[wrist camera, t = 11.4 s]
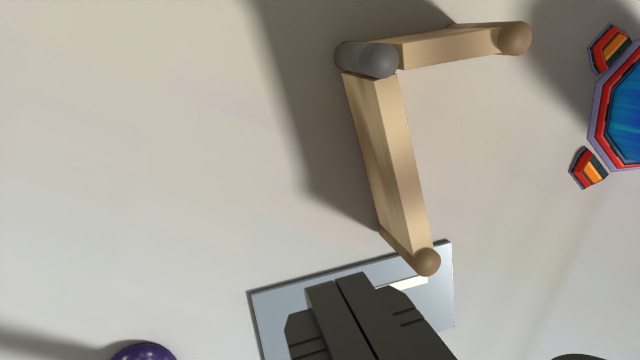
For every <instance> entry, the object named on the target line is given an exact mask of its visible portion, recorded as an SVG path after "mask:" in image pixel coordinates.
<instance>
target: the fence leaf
mask: <svg viewBox="0 0 640 360" xmlns="http://www.w3.org/2000/svg"><path fill="white" fill-rule="evenodd" d="M334 61H335V63H336V65H337V66H338V67H339V68H340V69H342V70H344V71H347V72H344V73H341V74H342V78H343V82H344V86H345V90H346V94H347V98H348V102H349V106H350V110H351V113H352V117H353V121H354V125H355V129H356V133H357V137H358V141H359V145H360V149H361V153H362V157H363V160H364V164H365V168H366V172H367V176H368V180H369V184H370V188H371V192H372V196H373V200H374V203H375V207H376V211H377V215H378V219H379V223H380V224H379V227H378V231H379V234H380V235H381V236H382V237H383V238H384V240H385V241H386V242H387V243H388V244H389V245H390V246H391V247H392V248H393V249H394V250H395V251H396V252H397V253H398V254H399V255H400V256H401V257H402V258H403V259H404V260H405V261H406V263H407V264H408V265H409V266H410V267H411V268H412V269H413V270H414V271H415V272H416V273H417V274H418V275H419V276H422V277H428V276H431V275H433V274H434V273H436V272H437V271H438V269H439V267H440V265H441V257H440V255H439V254H438V253H437V252H436V251H435V250H434V247H433V242H432V237H431V233H430V228H429V223H428V218H427V214H426V209H425V204H424V200H423V195H422V190H421V185H420V181H419V176H418V171H417V167H416V162H415V157H414V152H413V148H412V143H411V138H410V134H409V129H408V124H407V119H406V115H405V110H404V105H403V100H402V96H401V91H400V86H399V82H398V77H397V74H396V73H395V72H396V70H397V68H398V65H399V54H398V52H397V50H396V48H395V47H394V46H392V45H391V44H388V43H376V42H351V41H346V42H343V43H341V44H339V45H338V46H337V48H336V50H335V52H334Z"/></svg>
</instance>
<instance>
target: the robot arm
mask: <svg viewBox="0 0 640 360" xmlns="http://www.w3.org/2000/svg"><path fill="white" fill-rule="evenodd" d="M304 294H305V299H306V303H307V308H308V309H306V310H302V311H299V312H295V313H292V314H289V315H288V318H287V321H286V325H285V328H284V334H285V338H286V342H287V346H288V351H289V355H290V359H291V360H457V359H456V357H455V356H454V355H453V353H452V352H451V351H450V350H449V348H448V347H447V346H446V344H445V343H444V342H443V341H442V339H441V338H440V337H439V336H438V334H437V333H436V332H435V330H434V329H433V328H432V327H431V325H430V324H429V323H428V322H427V320H425V319H424V316H423V315H422V314H421V313H420V311H419V310H418V309H416V306H415V305H414V304H413V302H412V301H411V300H410V299H409V297H408V296H407V295H406V294H405V293H403V292H402V291H400V290H398V289H396V288H394V287H392V286H390V285H387V286H383V287H380V288H377V289H375V288H374V286H373V285H372V283H371V282H370V280H369V279H368V277H367V276H366V274H365V273H364V272H363V271H361V272H358V273H354V274H351V275H347V276H344V277H340V278H337V279H334V281H333V280H330V281H327V282H323V283H320V284H316V285H313V286H309V287H306V288H304ZM552 360H605V359H602V358H598V357H595V356H590V355H584V354H565V355H561V356H558V357H555V358H553V359H552Z"/></svg>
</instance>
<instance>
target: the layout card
mask: <svg viewBox="0 0 640 360" xmlns="http://www.w3.org/2000/svg"><path fill="white" fill-rule="evenodd" d="M433 247H434V250H435V251H436V252H437V253H438V254H439V255H440V257H441V265H440V267H439V269H438V271H437V272H436V273H434V274H433V275H431V276H428V277H422V276H419V275H418V274H417V273H416V272H415V271H414V270H413V269H412V268H411V267H410V266H409V265H408V264H407V263H406V261H405V260H404V259H403V258H402V257H401V256H400V255H399V254H397V255H393V256H390V257H386V258H382V259H378V260H375V261H371V262H367V263H363V264H359V265H356V266H352V267H348V268H344V269H341V270H337V271H333V272H329V273H326V274H322V275H318V276H314V277H310V278H307V279H303V280H299V281H295V282H292V283H288V284H284V285H280V286H276V287H273V288H269V289H265V290H261V291H258V292H254V293H251V297H252V302H253V307H254V311H255V316H256V321H257V325H258V330H259V334H260V339H261V344H262V348H263V353H264V357H265V360H291V359H290V355H289V351H288V346H287V342H286V338H285V334H284V328H285V325H286V321H287V318H288V315H289V314H292V313H295V312H299V311H302V310H306V309H308V308H307V303H306V299H305V294H304V288H306V287H309V286H313V285H316V284H320V283H323V282H327V281H330V280H333V281H334V279H337V278H340V277H344V276H347V275H351V274H354V273H358V272H361V271H363V272H364V273H365V274H366V276H367V277H368V279H369V280H370V282H371V283H372V285H373V286H374V288H375V289H377V288H380V287H383V286H387V285H390V286H392V287H394V288H396V289H398V290H400V291H402V292H403V293H405V294H406V295H407V296H408V297H409V299H410V300H411V301H412V302H413V304H414V305H415V306H416V309H418V310H419V311H420V313H421V314H422V315H423V316H424V319H425V320H427V322H428V323H429V324H430V325H431V327H432V328H433V329H434V330H435V332H440V331H443V330H446V329H449V328H453V327H455V311H454V289H453V268H452V247H451V242H450V241H446V242H443V243H439V244H435V245H433Z"/></svg>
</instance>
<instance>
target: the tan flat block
mask: <svg viewBox="0 0 640 360" xmlns="http://www.w3.org/2000/svg"><path fill="white" fill-rule="evenodd" d="M366 42H376V43H388V44H391V45H392V46H394V47H395V48H396V50H397V52H398V54H399V65H398V68H397V69H401V70H407V69H413V68H418V67H424V66H430V65H435V64H441V63H447V62H452V61H458V60H464V59H469V58H475V57H481V56H486V55H492V54H495V55H511V56H518V55H521V54H523V53H524V52H526V51H527V49H528V48H529V46H530V44H531V42H532V31H531V28H530V26H529V25H528V24H527V23H525V22H523V21H513V22H489V23H465V24H451V25H448V26H447V27H446V28H445V29H441V30H434V31H428V32H422V33H416V34H409V35H403V36H397V37H391V38H384V39H378V40H372V41H366Z"/></svg>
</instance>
